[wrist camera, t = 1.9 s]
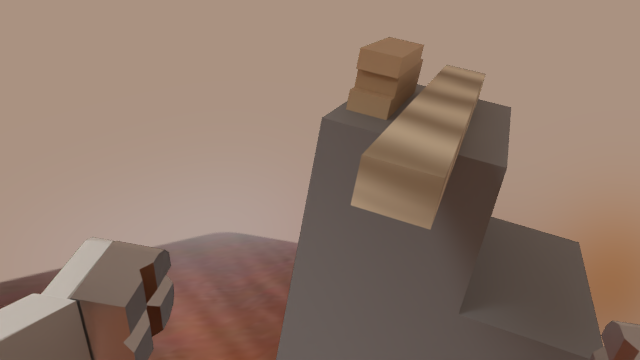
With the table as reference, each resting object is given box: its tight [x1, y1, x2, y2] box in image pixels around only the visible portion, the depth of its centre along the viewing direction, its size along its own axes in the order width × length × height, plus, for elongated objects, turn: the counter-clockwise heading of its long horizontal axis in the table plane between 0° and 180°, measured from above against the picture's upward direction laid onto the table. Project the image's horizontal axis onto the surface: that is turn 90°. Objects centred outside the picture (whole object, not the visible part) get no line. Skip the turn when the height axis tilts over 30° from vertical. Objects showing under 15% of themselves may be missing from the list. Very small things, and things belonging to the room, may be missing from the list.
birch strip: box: [351, 65, 485, 229], centre depth 32 cm, size 26×3×2 cm, turn 160°
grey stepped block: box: [276, 37, 603, 360], centre depth 40 cm, size 16×18×30 cm
